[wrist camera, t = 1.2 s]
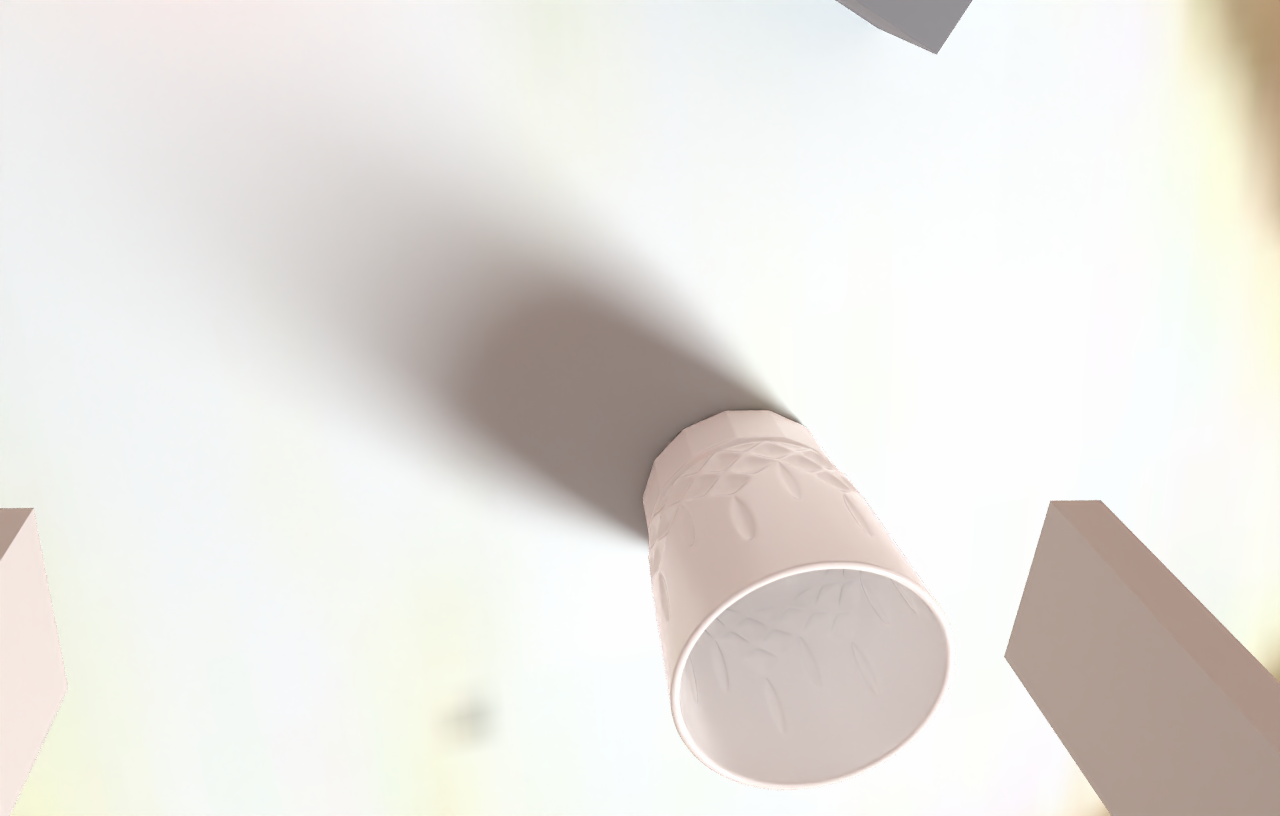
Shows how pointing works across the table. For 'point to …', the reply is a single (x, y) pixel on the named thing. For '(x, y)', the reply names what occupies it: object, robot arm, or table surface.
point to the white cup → (785, 609)
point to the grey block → (912, 18)
